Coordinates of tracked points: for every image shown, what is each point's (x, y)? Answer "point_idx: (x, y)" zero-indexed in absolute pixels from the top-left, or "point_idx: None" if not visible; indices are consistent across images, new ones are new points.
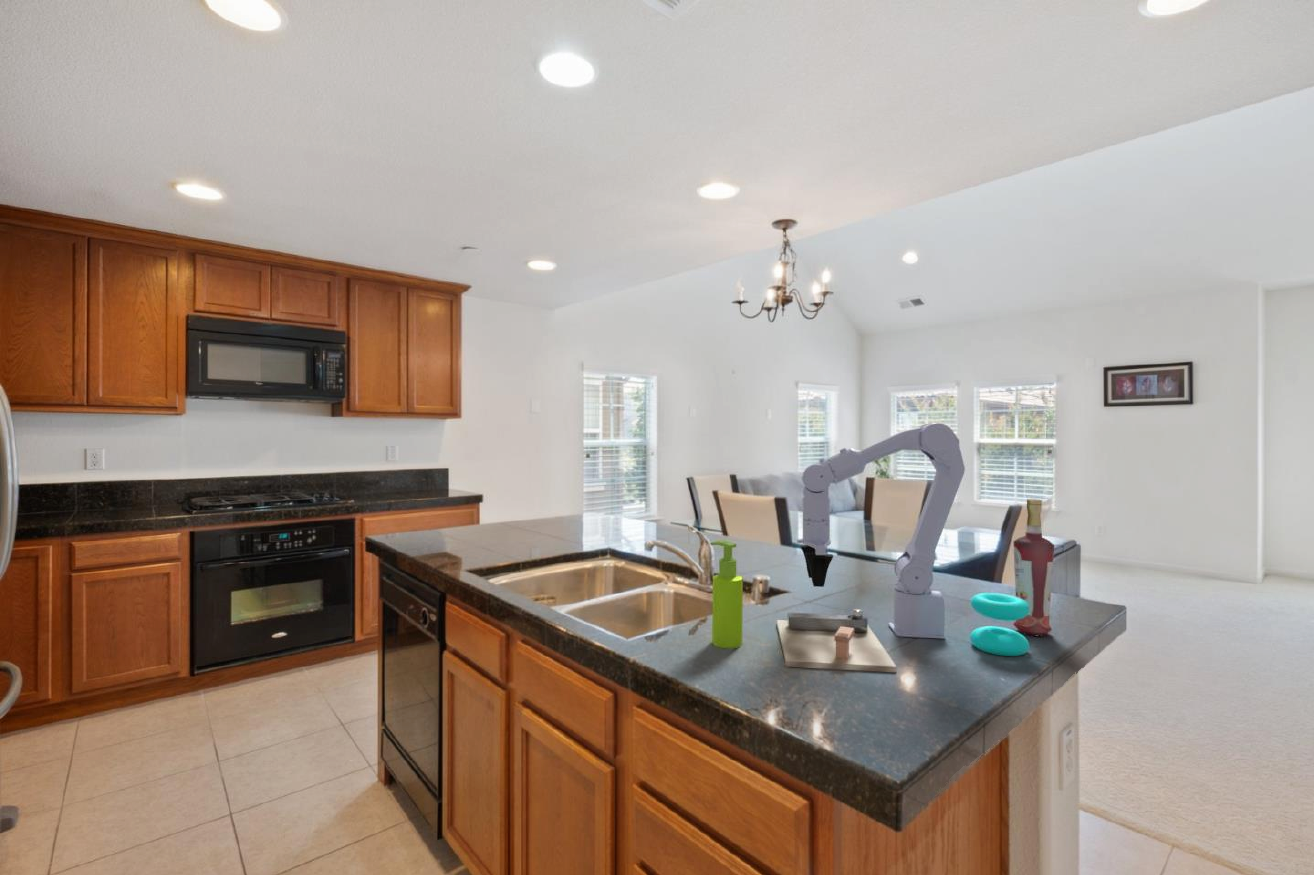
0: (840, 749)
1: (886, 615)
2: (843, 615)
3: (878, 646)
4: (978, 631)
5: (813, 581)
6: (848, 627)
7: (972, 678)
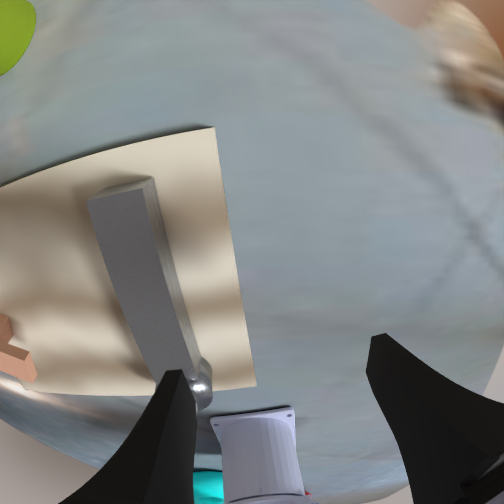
0: None
1: (364, 395)
2: (190, 370)
3: (96, 389)
4: (204, 491)
5: (156, 391)
6: (28, 374)
7: (76, 443)
